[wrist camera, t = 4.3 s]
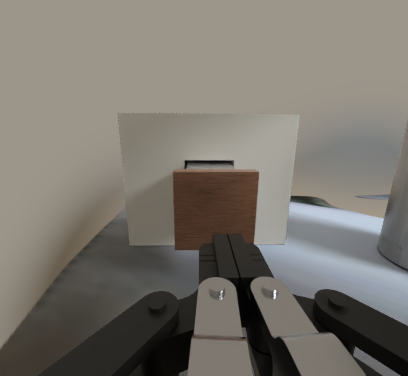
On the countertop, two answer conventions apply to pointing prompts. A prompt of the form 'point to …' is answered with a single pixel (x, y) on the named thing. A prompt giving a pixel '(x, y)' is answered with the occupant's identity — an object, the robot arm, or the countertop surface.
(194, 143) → the key box
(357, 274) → the countertop surface
